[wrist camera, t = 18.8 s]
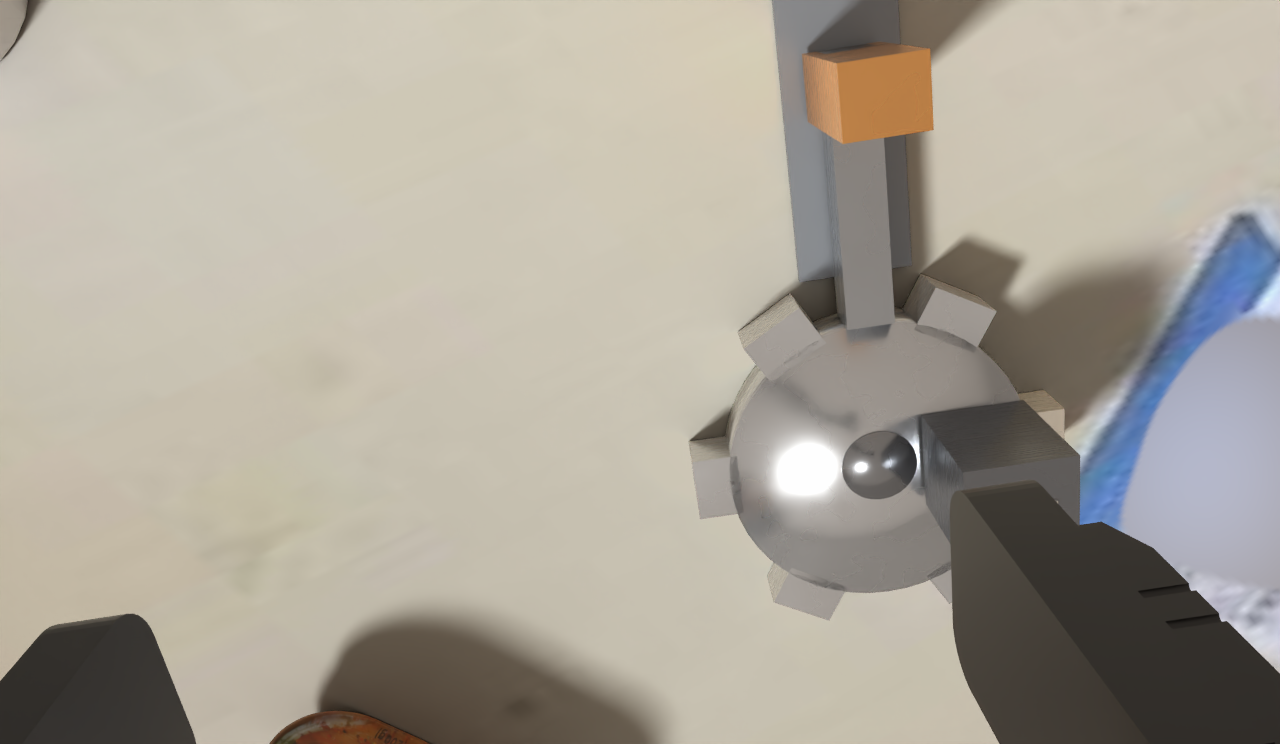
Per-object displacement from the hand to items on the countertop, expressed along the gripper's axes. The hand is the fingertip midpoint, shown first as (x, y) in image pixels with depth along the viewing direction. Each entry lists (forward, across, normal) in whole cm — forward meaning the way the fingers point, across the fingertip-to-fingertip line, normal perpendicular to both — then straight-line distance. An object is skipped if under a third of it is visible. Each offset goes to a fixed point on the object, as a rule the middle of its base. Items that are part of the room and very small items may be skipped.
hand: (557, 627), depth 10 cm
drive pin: (+28, -10, +2) cm, 30 cm away
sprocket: (+28, -10, +13) cm, 33 cm away
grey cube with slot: (+26, -14, +13) cm, 32 cm away
